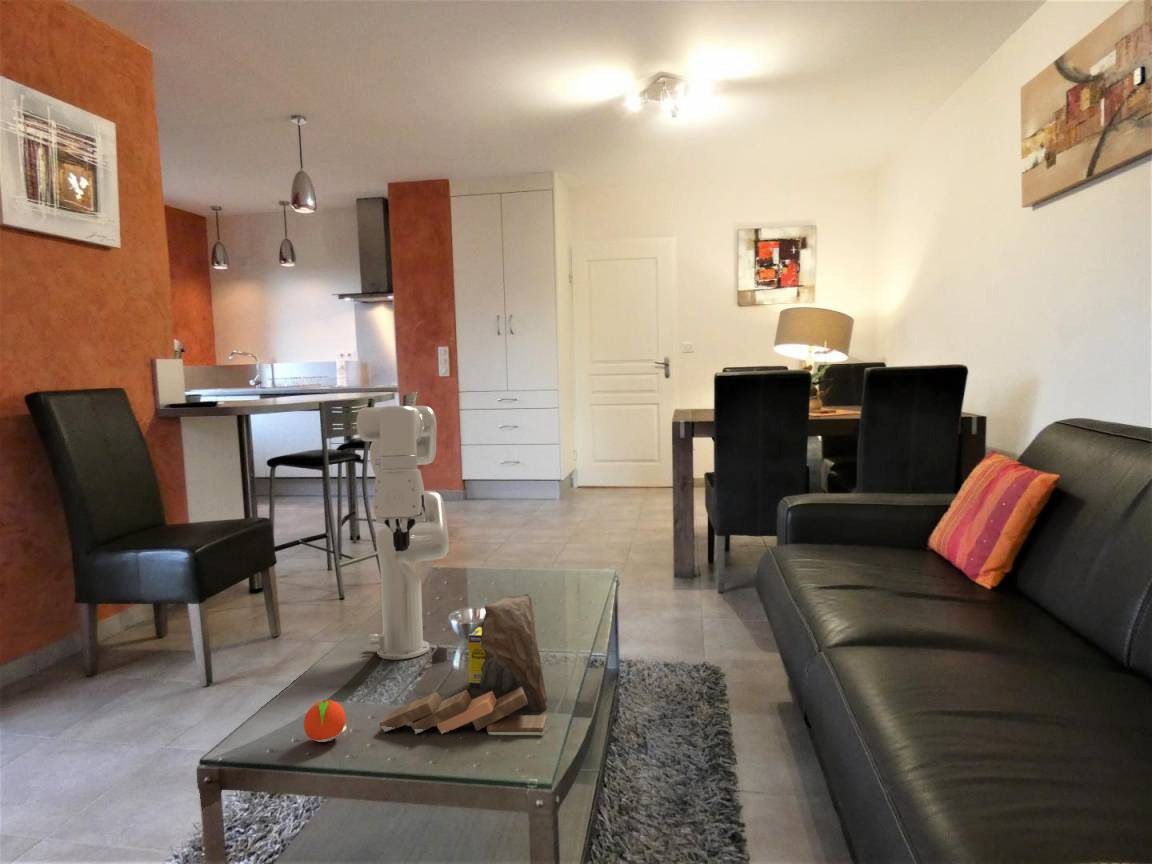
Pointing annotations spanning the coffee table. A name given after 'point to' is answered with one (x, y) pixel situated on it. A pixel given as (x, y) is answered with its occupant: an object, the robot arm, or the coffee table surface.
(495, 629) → the brown rough lump
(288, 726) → the coffee table surface
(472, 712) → the domino
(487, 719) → the domino
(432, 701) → the domino
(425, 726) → the domino
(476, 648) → the supplement box
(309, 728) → the clementine
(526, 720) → the domino
